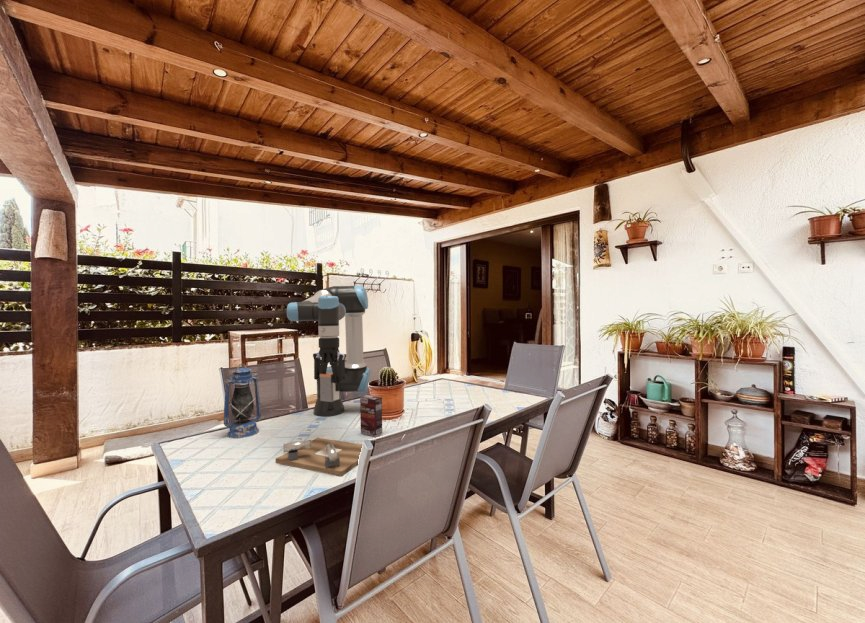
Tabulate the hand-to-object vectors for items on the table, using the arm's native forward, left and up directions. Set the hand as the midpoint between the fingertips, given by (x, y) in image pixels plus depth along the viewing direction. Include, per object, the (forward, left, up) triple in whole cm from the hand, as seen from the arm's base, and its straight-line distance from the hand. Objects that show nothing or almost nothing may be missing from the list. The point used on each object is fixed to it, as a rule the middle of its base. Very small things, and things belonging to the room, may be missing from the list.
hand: (329, 399), depth 140 cm
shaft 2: (+12, +9, -18) cm, 24 cm away
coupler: (0, 0, 0) cm, 0 cm away
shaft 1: (+12, -5, -18) cm, 22 cm away
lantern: (-3, -49, -20) cm, 53 cm away
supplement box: (-22, +4, -20) cm, 30 cm away
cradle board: (+4, +2, -20) cm, 20 cm away
